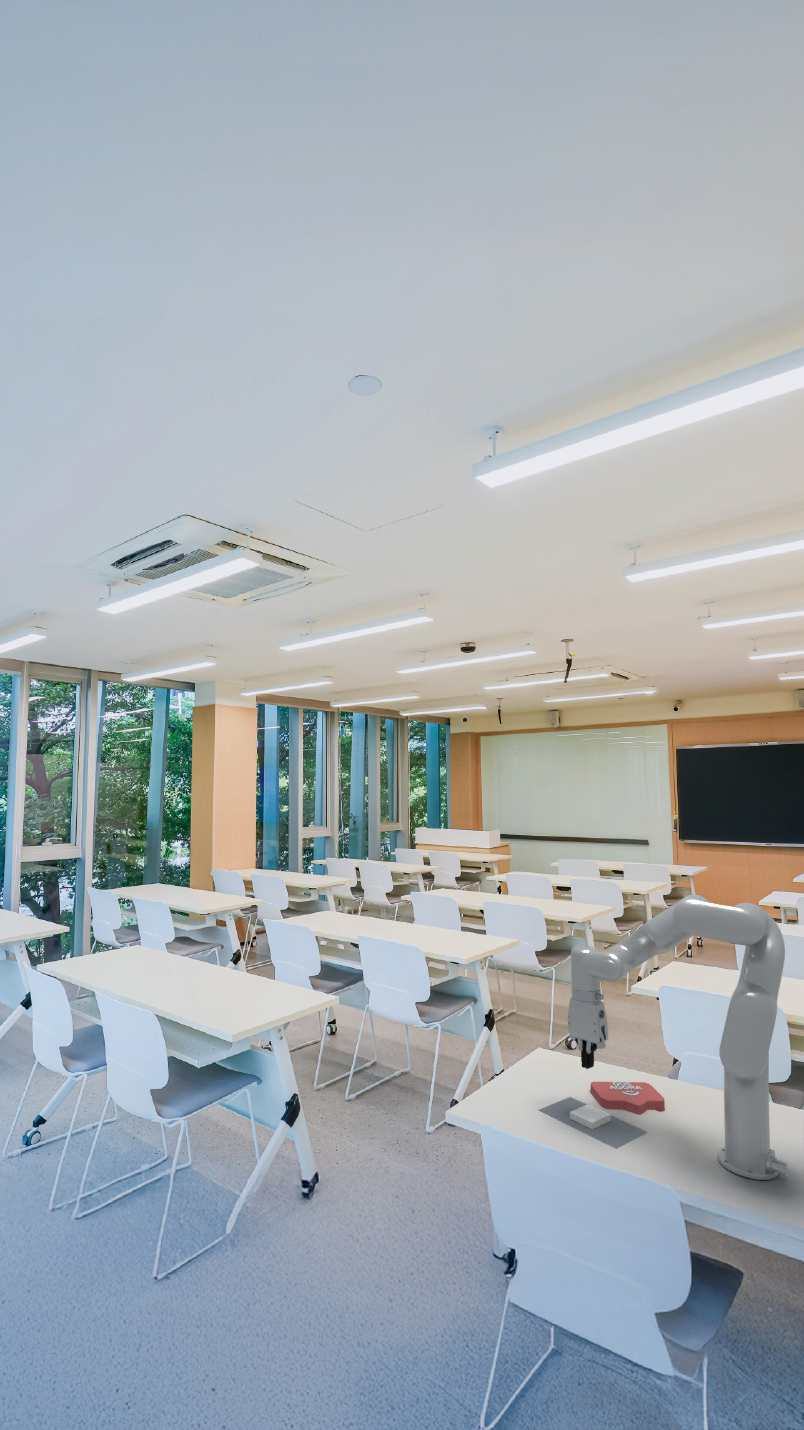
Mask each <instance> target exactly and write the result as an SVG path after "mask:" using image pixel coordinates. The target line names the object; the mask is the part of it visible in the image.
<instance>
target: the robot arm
mask: <svg viewBox="0 0 804 1430" xmlns="http://www.w3.org/2000/svg"><path fill="white" fill-rule="evenodd" d="M694 936H695V937H699V938H704V939H707V940H713V941H717V942H718V941H719V942H724V943H728V944H734V945H739V946H744V947H745V949H744V953H743V959H742V963H741V964H742V965H741V970H740V973H739V978H738V981H737V985H736V986H735V989H734V991H733V992H732V995H731V998H730V1001H729V1004H728V1009H727V1013H726V1018H725V1022H724V1027H723V1030H722V1036H721V1041H720V1044H719V1048H718V1049H719V1051H718V1052H719V1053H718V1055H719V1059H720V1062H721V1064H722V1066H723V1109H724V1111H723V1112H724V1113H723V1114H724V1116H723V1117H724V1118H723V1119H724V1120H723V1121H724V1147H722V1148H720V1149H719V1150H718V1152H717V1159H718V1161H719V1164H721V1165H722V1166H723V1167H724V1168H725V1169H727V1170H728V1171H730V1172H731V1173H734V1174H736V1175H738V1176H741V1177H744V1178H747V1179H751V1180H759V1181H769V1180H773V1179H775V1178H777V1176H779V1175H781V1176H784V1177H786V1178H787V1177H789V1174H790V1168H789V1167H788V1163H787V1162H785V1161H782V1160H779V1159H777V1157H776V1152H775V1149H772V1148H771V1135H770V1134H771V1132H770V1131H771V1130H770V1129H771V1128H770V1084H769V1083H770V1081H769V1080H770V1079H769V1078H770V1076H769V1075H770V1074H769V1072H770V1070H769V1066H770V1063H769V1062H770V1057H769V1056H770V1054H769V1053H770V1047H771V1043H772V1039H773V1034H774V1031H775V1025H776V1020H777V1016H778V1015H777V1013H778V998H779V993H780V988H781V983H782V977H783V971H784V965H785V959H786V957H785V956H786V948H785V947H786V946H785V940H784V937H783V934H782V931H781V928H780V927H779V925H778V924H777V922H776V921H775V919H774V918H773V917H772V916H771V915H770V914H769V913H768V912H767V911H765V909H763V907H761V906H759V905H757V904H755V903H751V902H741V903H736V905H734V906H730V905H724V904H718V903H713V902H710V901H709V900H708V899H706V898H705V897H704V896H702V895H698V894H689V895H687V896H684V897H683V898H681V899H680V900H678V901H676V902H675V903H673V904H672V905H671V906H669V907H667V908H666V909H665V910H663V911H661V912H659V914H657V915H656V916H654V917H652V918H650V919H649V920H648V921H646V922H645V923H643V924H642V926H641V927H640V928H638V929H637V930H636V931H634V932H633V933H631V934H630V935H629V936H627V937H625V938H623V940H621V941H619V942H618V943H616V944H615V945H613V946H611V947H609V948H608V949H606V950H604V951H599V950H598V949H597V948H596V947H593V946H588V945H576V946H573V947H572V948H571V951H570V969H571V970H570V971H571V972H570V974H571V997H570V998H569V1002H568V1010H567V1011H568V1012H567V1031H568V1033H569V1039H571V1040H572V1041H574V1042H575V1043H576V1044H577V1047H578V1049H579V1051H580V1062H581V1067H582V1068H585V1069H586V1070H588V1069H591V1068H594V1066H595V1065H594V1064H595V1052H597V1050H603V1049H605V1048H607V1047H606V1046H607V1045H606V1041H608V1039H609V1028H608V1017H607V1011H606V1006H605V1003H604V1001H603V1000H604V998H605V996H604V994H602V991H601V980H603V981H606V982H611V983H615V982H619V981H621V980H622V979H623V978H625V976H626V975H627V974H629V973H630V972H632V971H633V970H634V969H636V968H637V967H639V966H640V965H642V964H644V963H645V962H647V961H648V960H651V959H652V958H653V957H655V956H659V955H662V954H666V953H668V952H670V951H671V950H672V951H673V949H675V948H676V947H678V946H680V945H681V944H682V943H684V942H685V941H688V940H689V939H691V938H692V937H694Z"/></svg>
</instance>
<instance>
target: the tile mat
mask: <svg viewBox="0 0 804 1430" xmlns="http://www.w3.org/2000/svg"><path fill="white" fill-rule="evenodd" d="M587 1104H588V1103H585V1102H582V1101H580V1100H578V1099H576V1098H574V1097H572V1096H569V1097H565V1098H564V1099H561V1100H558V1101H556V1102H554V1103H552V1104H549V1105H547V1106H545V1107H541V1108H539V1109H538V1111H539V1112H541V1113H543V1114H544V1115H547V1116H548V1117H551V1118H553V1119H555V1120H557V1121H559V1122H561V1123H563V1124H565V1125H567V1126H569V1127H571V1128H573V1129H575V1130H577V1131H578V1132H579V1131H580V1132H581V1133H583V1134H586V1135H588V1136H590V1137H592V1138H594V1139H596V1140H597V1141H599V1142H602V1144H603V1143H604V1144H605V1145H608V1146H610V1147H612V1148H614V1149H615V1150H617V1149H618V1148H621V1147H623V1146H624V1145H627V1144H628V1143H630V1142H632V1141H634V1140H636V1139H637V1138H640V1137H642V1136H644V1135H646V1134H647V1133H648V1131H647V1130H645V1129H642V1128H640V1127H638V1126H636V1125H633V1124H631V1123H629V1122H627V1121H626V1120H625V1121H624V1120H623V1119H620V1118H618V1117H615V1116H613V1115H611V1121H609V1122H607V1123H605V1124H603V1125H601V1126H599V1127H597V1128H594V1129H590V1128H588V1127H586V1126H584V1125H582V1124H580V1123H578V1122H576V1121H574V1120H572V1119H570V1112H571V1111H573V1110H576V1109H578V1108H580V1107H583V1106H585V1105H587Z"/></svg>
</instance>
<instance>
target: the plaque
mask: <svg viewBox="0 0 804 1430" xmlns="http://www.w3.org/2000/svg"><path fill="white" fill-rule="evenodd" d="M590 1094H591V1095H592V1097H593V1098H594V1099H595V1100H596V1101H597V1104H599V1106H600V1107H602V1108H604V1109H605V1110H622V1111H627V1112H629V1113H632V1114H636V1115H642V1114H644V1113H645V1112H647V1111H651V1110H652V1111H656V1112H659V1113H661V1112H664V1111H665V1106H666V1105H665V1097H664V1096H662V1094H661V1093H660V1092H659V1091H658V1090H657V1089H656V1088H655V1087H654V1086H653V1085H652V1084H650V1083H647V1082H643V1081H642V1082H641V1081H639V1082H638V1081H636V1082H635V1081H592V1082H590Z"/></svg>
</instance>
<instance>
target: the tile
mask: <svg viewBox="0 0 804 1430" xmlns="http://www.w3.org/2000/svg"><path fill="white" fill-rule="evenodd" d="M586 1104H587V1105H585V1106H583V1107H580V1108H578V1109H576V1110H573V1111H571V1112H570V1119H572V1120H574V1121H576V1122H578V1123H580V1124H582V1125H584V1126H586V1127H588V1128H590V1129H594V1128H597V1127H599V1126H601V1125H603V1124H605V1123H607V1122H609V1121H611V1116H612V1115H611V1113H609V1112H607V1111H604V1110H602V1109H601V1108H597V1107H595V1106H593V1105H590V1104H589V1103H586Z"/></svg>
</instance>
